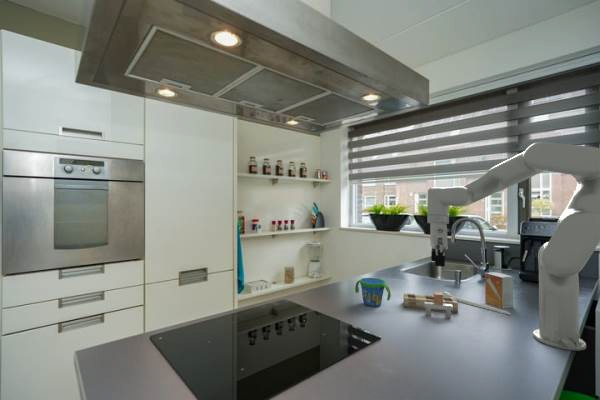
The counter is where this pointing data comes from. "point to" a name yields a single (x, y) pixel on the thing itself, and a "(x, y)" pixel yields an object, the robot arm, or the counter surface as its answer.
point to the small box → (499, 289)
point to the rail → (418, 301)
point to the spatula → (446, 294)
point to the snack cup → (372, 291)
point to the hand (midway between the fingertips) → (437, 263)
